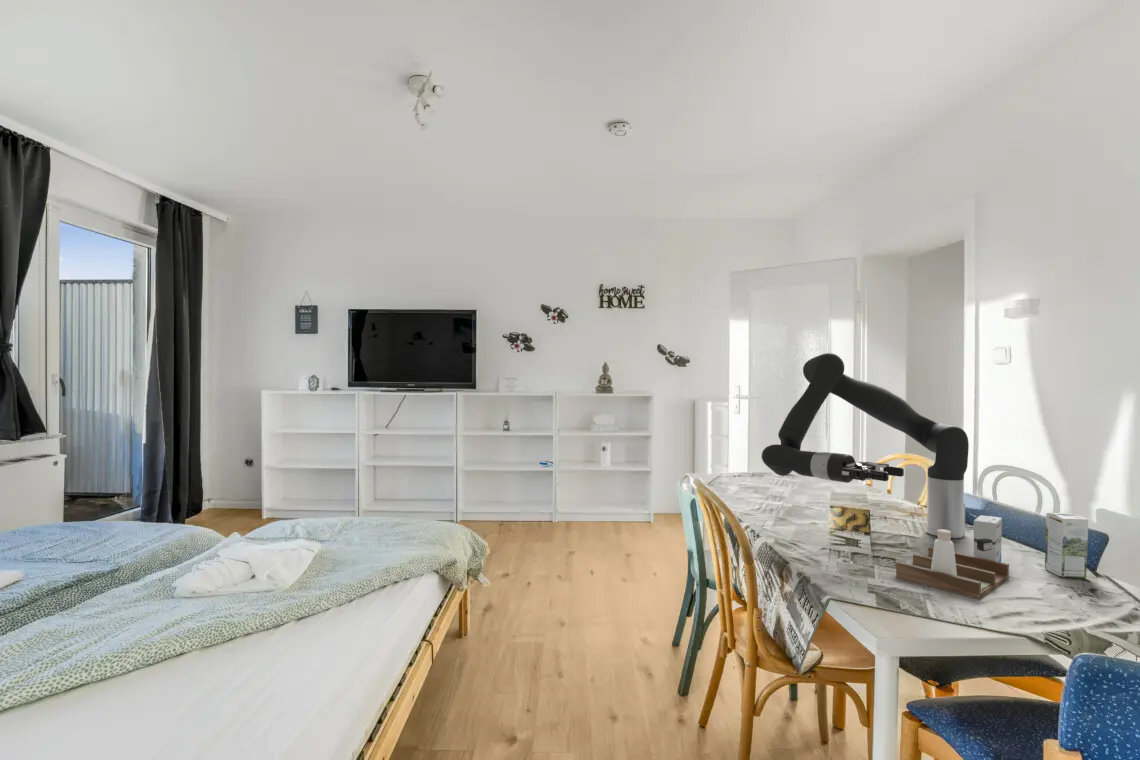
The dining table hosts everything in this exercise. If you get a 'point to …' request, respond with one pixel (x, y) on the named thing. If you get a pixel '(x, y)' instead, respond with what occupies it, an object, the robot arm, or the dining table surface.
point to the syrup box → (1066, 544)
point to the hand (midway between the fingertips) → (895, 474)
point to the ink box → (988, 537)
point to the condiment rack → (971, 574)
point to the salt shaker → (944, 554)
